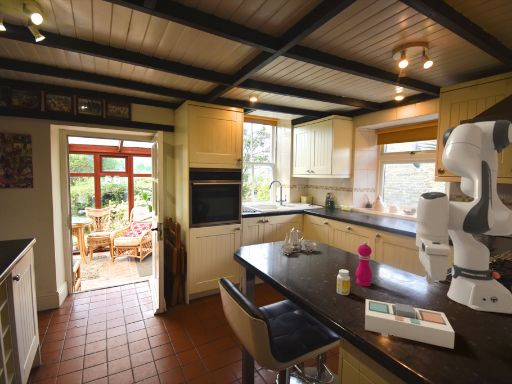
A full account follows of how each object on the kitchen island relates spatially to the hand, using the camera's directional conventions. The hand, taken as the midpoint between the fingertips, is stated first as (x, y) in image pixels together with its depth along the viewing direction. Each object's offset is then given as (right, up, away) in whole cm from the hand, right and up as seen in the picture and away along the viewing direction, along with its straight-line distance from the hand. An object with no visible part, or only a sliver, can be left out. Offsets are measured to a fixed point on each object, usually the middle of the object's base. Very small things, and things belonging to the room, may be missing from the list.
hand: (430, 282), depth 87 cm
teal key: (-15, -13, +4) cm, 20 cm away
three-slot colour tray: (-8, -15, 0) cm, 17 cm away
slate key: (-8, -12, +1) cm, 14 cm away
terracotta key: (-1, -13, -2) cm, 13 cm away
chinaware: (-31, -10, +88) cm, 94 cm away
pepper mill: (-7, -13, +37) cm, 39 cm away
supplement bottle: (-20, -14, +27) cm, 36 cm away
